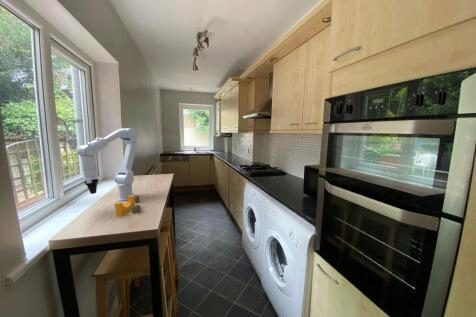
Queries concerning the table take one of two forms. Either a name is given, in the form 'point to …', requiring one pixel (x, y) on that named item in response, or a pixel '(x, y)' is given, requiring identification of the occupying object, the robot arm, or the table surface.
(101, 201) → the table surface
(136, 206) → the post
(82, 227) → the table surface
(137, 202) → the post
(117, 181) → the robot arm
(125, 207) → the pipe clamp
